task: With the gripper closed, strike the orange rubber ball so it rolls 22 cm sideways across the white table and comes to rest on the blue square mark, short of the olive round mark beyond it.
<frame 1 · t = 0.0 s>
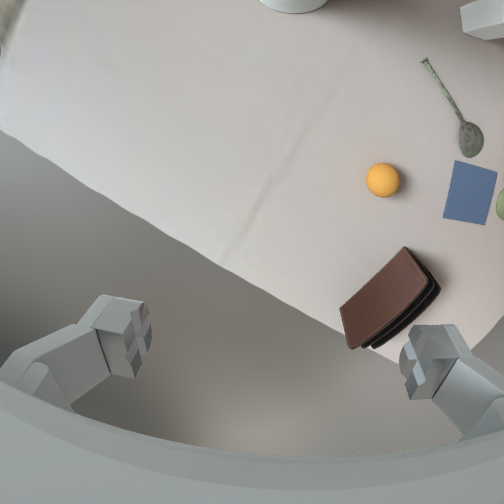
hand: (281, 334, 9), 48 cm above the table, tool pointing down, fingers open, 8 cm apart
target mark: (471, 194, 51), on the table
ball: (382, 180, 50), on the table
milk: (472, 24, 35), on the table
letter holder: (384, 289, 64), on the table
soupspoon: (451, 108, 45), on the table
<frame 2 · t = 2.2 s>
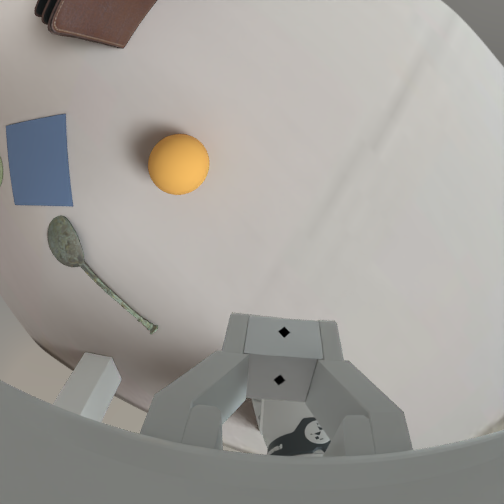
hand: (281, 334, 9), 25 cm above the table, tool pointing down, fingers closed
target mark: (36, 163, 33), on the table
ball: (178, 164, 29), on the table
milk: (103, 365, 49), on the table
soupspoon: (102, 274, 41), on the table
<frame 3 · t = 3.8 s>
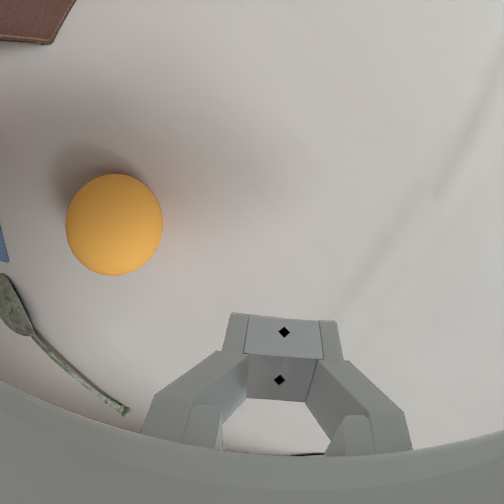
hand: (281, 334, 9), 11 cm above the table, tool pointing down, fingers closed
ball: (113, 224, 17), on the table
soupspoon: (59, 344, 29), on the table
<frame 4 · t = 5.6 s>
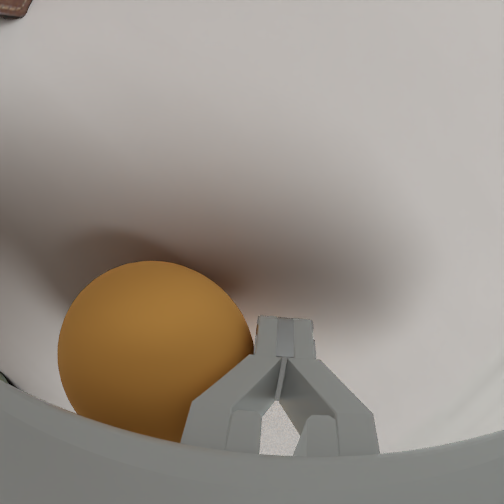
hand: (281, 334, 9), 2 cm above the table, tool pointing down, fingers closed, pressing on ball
ball: (155, 360, 9), on the table, touching gripper
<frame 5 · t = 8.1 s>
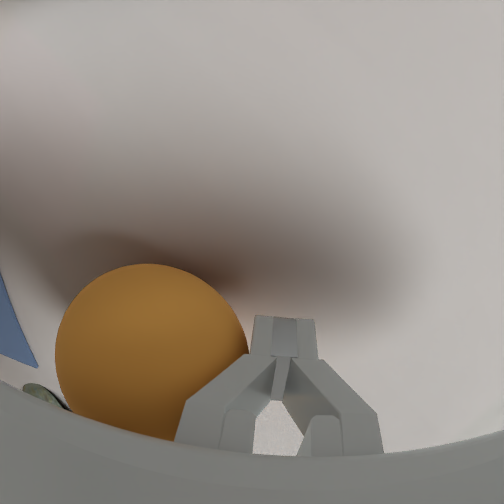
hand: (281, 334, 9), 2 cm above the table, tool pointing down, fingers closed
ball: (151, 361, 9), on the table, touching gripper
soupspoon: (135, 460, 20), on the table
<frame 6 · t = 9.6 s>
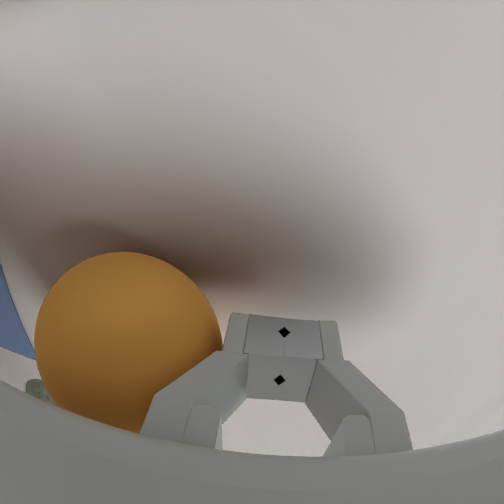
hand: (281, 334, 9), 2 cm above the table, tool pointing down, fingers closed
ball: (127, 348, 9), on the table
soupspoon: (138, 455, 20), on the table
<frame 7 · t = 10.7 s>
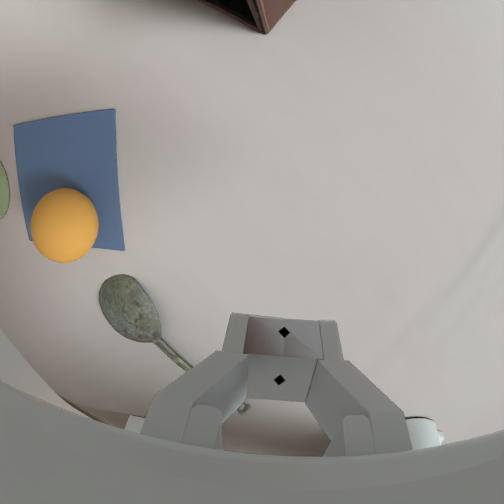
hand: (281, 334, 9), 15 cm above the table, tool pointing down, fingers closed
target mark: (62, 183, 23), on the table
ball: (64, 225, 22), on the table
soupspoon: (181, 348, 32), on the table
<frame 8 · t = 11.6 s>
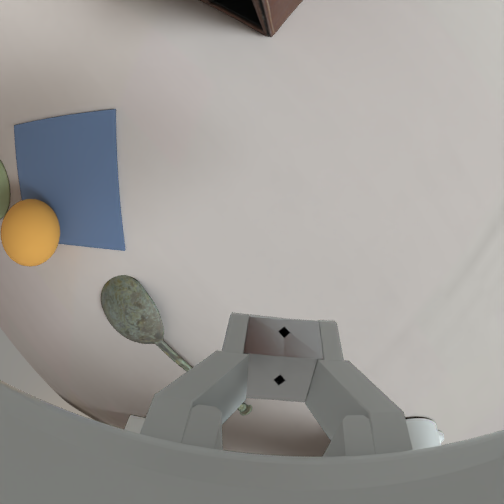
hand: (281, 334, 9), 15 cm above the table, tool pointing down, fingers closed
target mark: (62, 183, 23), on the table
ball: (30, 232, 23), on the table
soupspoon: (183, 349, 32), on the table
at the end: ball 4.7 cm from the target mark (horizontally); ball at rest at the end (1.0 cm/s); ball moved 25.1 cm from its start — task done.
